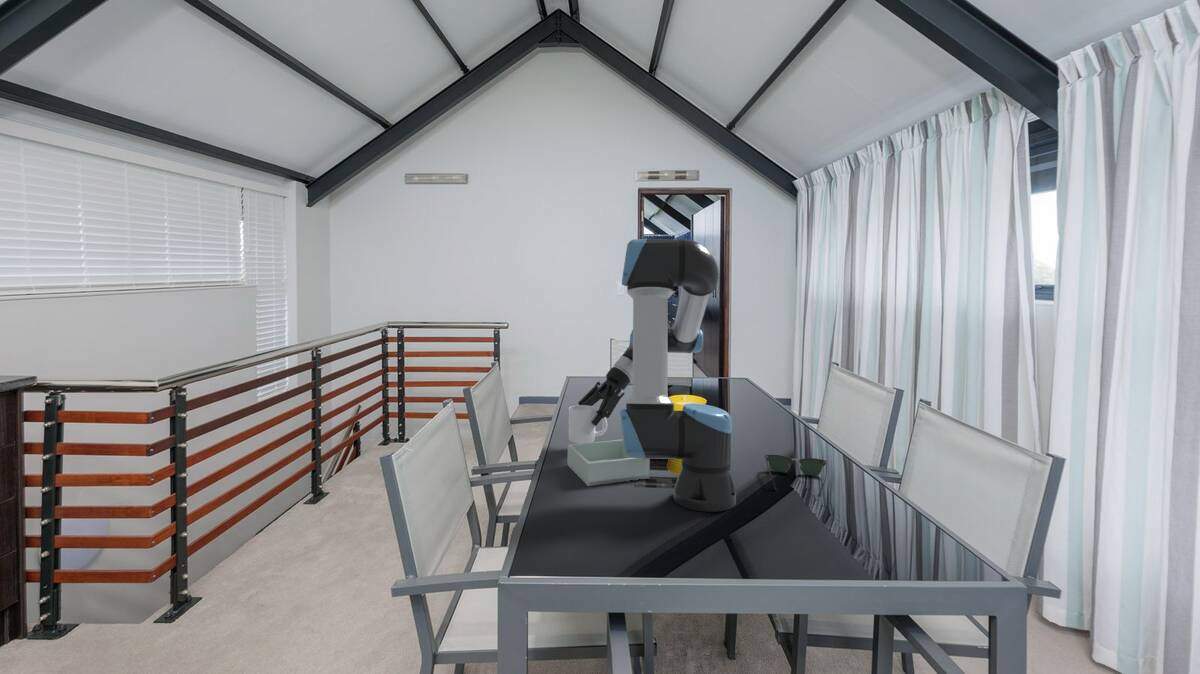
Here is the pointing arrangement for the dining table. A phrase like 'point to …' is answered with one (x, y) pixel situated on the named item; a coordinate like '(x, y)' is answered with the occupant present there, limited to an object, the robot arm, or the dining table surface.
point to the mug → (582, 424)
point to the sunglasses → (807, 466)
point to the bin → (606, 463)
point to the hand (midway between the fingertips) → (577, 428)
